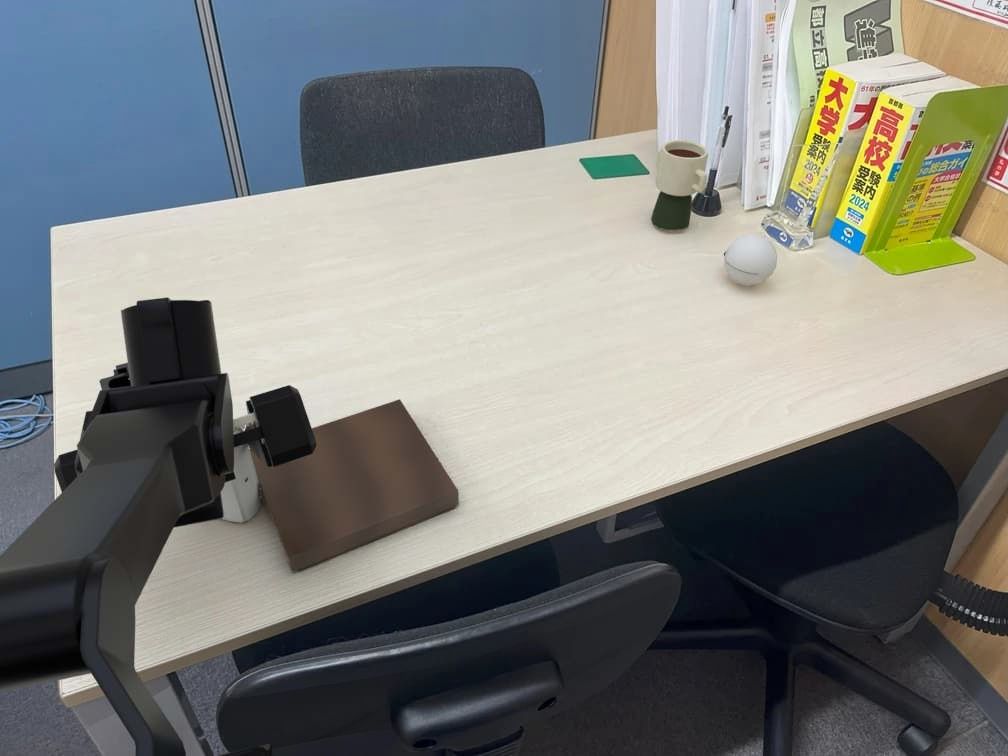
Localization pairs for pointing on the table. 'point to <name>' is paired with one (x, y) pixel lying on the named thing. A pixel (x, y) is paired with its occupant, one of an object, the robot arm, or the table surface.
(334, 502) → the walnut stand
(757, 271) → the seamed sphere
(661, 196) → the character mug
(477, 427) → the table surface
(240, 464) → the photo printer
